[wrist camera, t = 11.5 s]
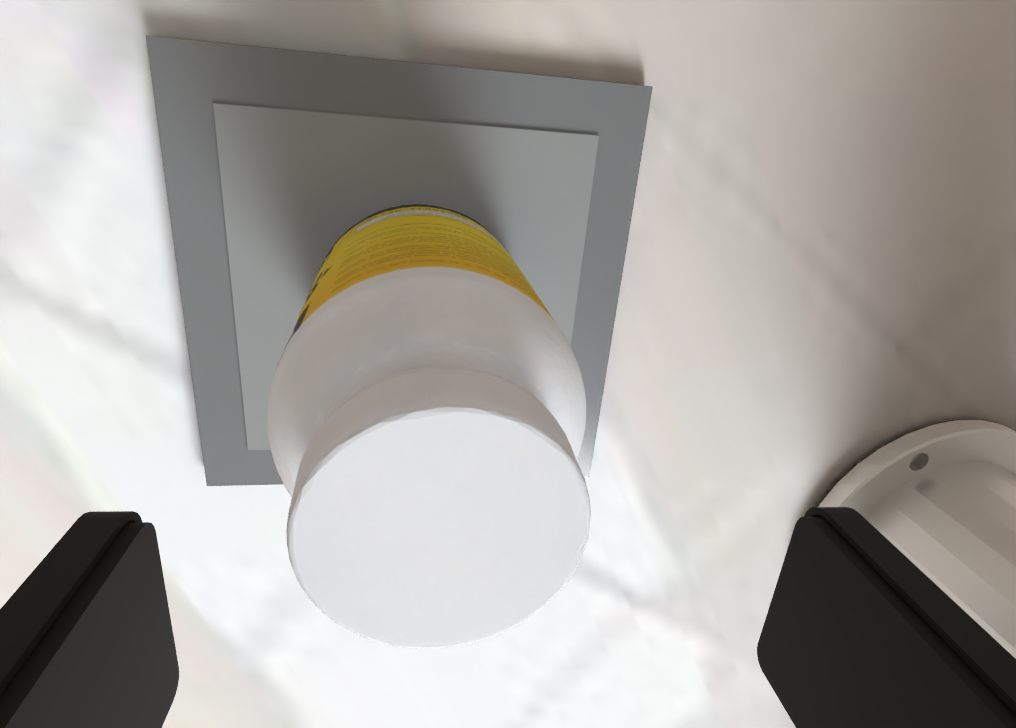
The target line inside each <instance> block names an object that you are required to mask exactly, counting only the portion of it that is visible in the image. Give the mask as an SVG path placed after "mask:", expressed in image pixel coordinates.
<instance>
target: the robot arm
mask: <svg viewBox="0 0 1016 728" xmlns="http://www.w3.org/2000/svg"><path fill="white" fill-rule="evenodd" d="M757 655H758V661H759V664H760V667H761V669H762V671H763V673H764V675H765V676H766V678H767V680H768V681H769V683H770V685H771V686H772V688H773V690H774V691H775V693H776V695H777V696H778V698H779V700H780V701H781V703H782V705H783V706H784V708H785V710H786V711H787V713H788V715H789V716H790V718H791V720H792V721H793V723H794V725H795V726H796V728H1016V431H1014V430H1012V429H1010V428H1008V427H1006V426H1004V425H1002V424H998V423H994V422H989V421H984V420H955V421H950V422H945V423H939V424H934V425H931V426H928V427H925V428H922V429H920V430H917V431H914V432H911V433H908V434H906V435H904V436H902V437H900V438H898V439H896V440H894V441H892V442H890V443H889V444H887V445H885V446H883V447H881V448H879V449H878V450H877V451H875V452H874V453H872V454H871V455H870V456H868V457H867V458H865V459H864V460H862V461H861V462H860V463H858V464H857V465H856V466H855V467H854V468H853V469H852V470H850V471H849V472H848V473H847V474H846V475H845V476H844V477H843V478H842V479H841V480H840V481H839V482H837V484H836V485H835V486H834V487H833V488H832V490H831V491H830V492H829V493H828V494H827V496H826V497H825V498H824V499H823V500H822V502H821V503H820V504H819V506H818V507H814V508H811V509H809V510H808V511H807V512H806V514H805V516H804V517H801V518H800V519H799V520H798V521H797V523H796V525H795V528H794V531H793V534H792V537H791V541H790V544H789V547H788V550H787V553H786V556H785V560H784V563H783V566H782V569H781V572H780V575H779V579H778V582H777V585H776V588H775V591H774V594H773V598H772V601H771V604H770V607H769V610H768V613H767V617H766V620H765V623H764V626H763V629H762V632H761V636H760V639H759V642H758V647H757ZM178 680H179V667H178V661H177V655H176V649H175V643H174V637H173V631H172V625H171V619H170V613H169V608H168V602H167V596H166V590H165V584H164V578H163V572H162V566H161V560H160V554H159V549H158V543H157V537H156V531H155V528H154V526H153V524H152V523H142V520H141V517H140V516H139V514H138V513H136V512H87V513H84V514H83V515H82V516H81V517H80V518H78V520H77V521H76V522H75V523H74V524H73V525H72V527H71V528H70V529H69V530H68V531H67V532H66V534H65V535H64V536H63V537H62V538H61V539H60V541H59V542H58V543H57V544H56V545H55V546H54V548H53V549H52V550H51V551H50V552H49V553H48V555H47V556H46V557H45V558H44V559H43V560H42V562H41V563H40V564H39V565H38V566H37V567H36V568H35V570H34V571H33V572H32V573H31V574H30V575H29V577H28V578H27V579H26V580H25V581H24V582H23V584H22V585H21V586H20V587H19V588H18V589H17V591H16V592H15V593H14V594H13V595H12V596H11V598H10V599H9V600H8V601H7V602H6V603H5V605H4V606H3V607H2V608H1V609H0V728H162V725H163V723H164V721H165V718H166V716H167V714H168V711H169V709H170V707H171V705H172V702H173V700H174V697H175V694H176V690H177V686H178Z"/></svg>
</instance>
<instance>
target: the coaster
mask: <svg viewBox="0 0 1016 728" xmlns="http://www.w3.org/2000/svg"><path fill="white" fill-rule="evenodd" d="M146 39H147V47H148V54H149V61H150V69H151V76H152V84H153V91H154V98H155V106H156V113H157V121H158V128H159V135H160V143H161V150H162V158H163V165H164V172H165V180H166V187H167V195H168V202H169V209H170V217H171V224H172V232H173V239H174V246H175V254H176V261H177V269H178V276H179V283H180V291H181V298H182V306H183V313H184V320H185V328H186V335H187V343H188V350H189V357H190V365H191V372H192V380H193V387H194V394H195V402H196V409H197V416H198V424H199V431H200V439H201V446H202V453H203V461H204V468H205V476H206V483H207V486H228V485H270V484H283V482H282V479H281V477H280V475H279V473H278V471H277V468H276V465H275V463H274V460H273V456H272V452H271V448H270V444H269V438H268V429H267V411H268V402H269V395H270V390H271V385H272V381H273V378H274V375H275V371H276V368H277V365H278V363H279V361H280V359H281V356H282V354H283V352H284V349H285V347H286V345H287V343H288V340H289V338H290V336H291V334H292V332H293V329H294V327H295V325H296V323H297V320H298V317H299V314H300V312H301V310H302V308H303V306H304V304H305V301H306V299H307V297H308V294H309V292H310V290H311V288H312V286H313V284H314V281H315V279H316V276H317V274H318V272H319V270H320V268H321V265H322V263H323V261H324V259H325V257H326V256H327V254H328V253H329V251H330V250H331V248H332V247H333V245H334V244H335V243H336V241H337V240H338V239H339V238H340V237H341V236H342V235H343V234H344V233H345V232H346V231H347V230H348V229H349V228H350V227H352V226H353V225H354V224H355V223H357V222H358V221H360V220H362V219H363V218H365V217H367V216H369V215H371V214H373V213H375V212H377V211H380V210H383V209H386V208H389V207H393V206H398V205H404V204H430V205H437V206H442V207H446V208H450V209H453V210H455V211H458V212H460V213H463V214H465V215H467V216H469V217H471V218H472V219H474V220H476V221H477V222H479V223H480V224H482V225H483V226H484V227H485V228H487V229H488V230H489V231H490V232H491V233H492V234H493V235H494V236H495V237H496V238H497V239H498V240H499V241H500V243H501V244H502V245H503V246H504V248H505V249H506V250H507V252H508V253H509V255H510V256H511V258H512V259H513V261H514V262H515V263H516V265H517V266H518V268H519V269H520V270H521V272H522V273H523V275H524V276H525V278H526V279H527V280H528V282H529V283H530V285H531V286H532V288H533V289H534V291H535V292H536V294H537V295H538V297H539V298H540V300H541V301H542V303H543V304H544V306H545V307H546V309H547V310H548V312H549V313H550V315H551V316H552V318H553V319H554V321H555V322H556V324H557V325H558V327H559V328H560V330H561V331H562V333H563V334H564V336H565V338H566V339H567V341H568V343H569V345H570V347H571V349H572V351H573V353H574V355H575V357H576V360H577V362H578V365H579V368H580V371H581V375H582V379H583V384H584V389H585V396H586V424H585V431H584V436H583V442H582V445H581V449H580V452H579V455H578V458H577V462H578V465H579V467H580V469H581V472H582V474H583V476H584V477H589V475H590V469H591V463H592V457H593V451H594V444H595V438H596V432H597V426H598V420H599V414H600V407H601V401H602V395H603V389H604V383H605V377H606V370H607V364H608V358H609V352H610V346H611V340H612V333H613V327H614V321H615V315H616V309H617V303H618V296H619V290H620V284H621V278H622V272H623V266H624V259H625V253H626V247H627V241H628V235H629V229H630V222H631V216H632V210H633V204H634V198H635V192H636V185H637V179H638V173H639V167H640V161H641V154H642V148H643V142H644V136H645V130H646V124H647V117H648V111H649V105H650V99H651V93H652V86H642V85H632V84H622V83H612V82H602V81H592V80H583V79H573V78H563V77H553V76H543V75H533V74H523V73H513V72H503V71H494V70H484V69H474V68H464V67H454V66H444V65H434V64H424V63H414V62H405V61H395V60H385V59H375V58H365V57H355V56H345V55H335V54H325V53H316V52H306V51H296V50H286V49H276V48H266V47H256V46H246V45H236V44H227V43H217V42H207V41H197V40H187V39H177V38H167V37H157V36H147V35H146Z"/></svg>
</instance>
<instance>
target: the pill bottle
mask: <svg viewBox="0 0 1016 728" xmlns="http://www.w3.org/2000/svg"><path fill="white" fill-rule="evenodd" d="M585 424H586V396H585V389H584V384H583V379H582V375H581V371H580V368H579V365H578V362H577V360H576V357H575V355H574V353H573V351H572V349H571V347H570V345H569V343H568V341H567V339H566V338H565V336H564V334H563V333H562V331H561V330H560V328H559V327H558V325H557V324H556V322H555V321H554V319H553V318H552V316H551V315H550V313H549V312H548V310H547V309H546V307H545V306H544V304H543V303H542V301H541V300H540V298H539V297H538V295H537V294H536V292H535V291H534V289H533V288H532V286H531V285H530V283H529V282H528V280H527V279H526V278H525V276H524V275H523V273H522V272H521V270H520V269H519V268H518V266H517V265H516V263H515V262H514V261H513V259H512V258H511V256H510V255H509V253H508V252H507V250H506V249H505V248H504V246H503V245H502V244H501V243H500V241H499V240H498V239H497V238H496V237H495V236H494V235H493V234H492V233H491V232H490V231H489V230H488V229H487V228H485V227H484V226H483V225H482V224H480V223H479V222H477V221H476V220H474V219H472V218H471V217H469V216H467V215H465V214H463V213H460V212H458V211H455V210H453V209H450V208H446V207H442V206H437V205H430V204H404V205H398V206H393V207H389V208H386V209H383V210H380V211H377V212H375V213H373V214H371V215H369V216H367V217H365V218H363V219H362V220H360V221H358V222H357V223H355V224H354V225H353V226H352V227H350V228H349V229H348V230H347V231H346V232H345V233H344V234H343V235H342V236H341V237H340V238H339V239H338V240H337V241H336V243H335V244H334V245H333V247H332V248H331V250H330V251H329V253H328V254H327V256H326V257H325V259H324V261H323V263H322V265H321V268H320V270H319V272H318V274H317V276H316V279H315V281H314V284H313V286H312V288H311V290H310V292H309V294H308V297H307V299H306V301H305V304H304V306H303V308H302V310H301V312H300V314H299V317H298V320H297V323H296V325H295V327H294V329H293V332H292V334H291V336H290V338H289V340H288V343H287V345H286V347H285V349H284V352H283V354H282V356H281V359H280V361H279V363H278V365H277V368H276V371H275V375H274V378H273V381H272V385H271V390H270V395H269V402H268V411H267V429H268V438H269V444H270V448H271V452H272V456H273V460H274V463H275V465H276V468H277V471H278V473H279V475H280V477H281V479H282V482H283V484H284V486H285V488H286V489H287V491H288V492H289V494H290V495H291V497H292V500H291V505H290V509H289V514H288V523H287V546H288V552H289V558H290V562H291V565H292V567H293V570H294V573H295V575H296V578H297V579H298V581H299V583H300V585H301V587H302V589H303V590H304V591H305V593H306V594H307V595H308V597H309V598H310V599H311V601H312V602H313V603H314V604H315V605H316V606H317V607H318V608H319V609H320V610H321V611H322V612H323V613H324V614H325V615H327V616H328V617H329V618H331V619H332V620H333V621H334V622H336V623H337V624H339V625H341V626H343V627H344V628H346V629H348V630H350V631H352V632H354V633H356V634H358V635H360V636H362V637H364V638H368V639H371V640H374V641H377V642H381V643H385V644H389V645H394V646H399V647H405V648H445V647H452V646H459V645H466V644H470V643H473V642H477V641H481V640H484V639H487V638H490V637H493V636H496V635H499V634H501V633H503V632H505V631H507V630H509V629H511V628H513V627H516V626H517V625H519V624H520V623H522V622H523V621H525V620H527V619H528V618H530V617H531V616H533V615H534V614H535V613H537V612H538V611H539V610H540V609H541V608H543V607H544V606H545V605H546V604H547V603H548V602H550V601H551V600H552V599H553V598H554V597H555V596H556V595H557V594H558V593H559V592H560V591H561V589H562V588H563V587H564V586H565V585H566V583H567V582H568V581H569V579H570V577H571V576H572V574H573V573H574V572H575V569H576V567H577V565H578V563H579V561H580V559H581V557H582V555H583V552H584V549H585V546H586V543H587V540H588V535H589V527H590V516H591V511H590V499H589V495H588V490H587V486H586V482H585V479H584V476H583V474H582V472H581V469H580V467H579V465H578V462H577V458H578V455H579V452H580V449H581V445H582V442H583V436H584V431H585Z"/></svg>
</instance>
